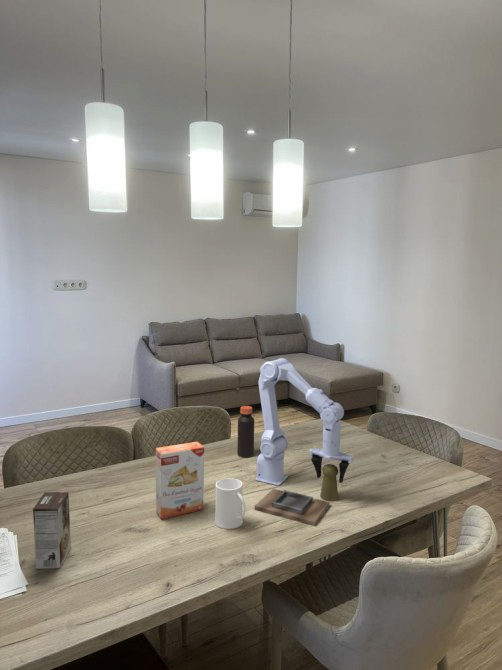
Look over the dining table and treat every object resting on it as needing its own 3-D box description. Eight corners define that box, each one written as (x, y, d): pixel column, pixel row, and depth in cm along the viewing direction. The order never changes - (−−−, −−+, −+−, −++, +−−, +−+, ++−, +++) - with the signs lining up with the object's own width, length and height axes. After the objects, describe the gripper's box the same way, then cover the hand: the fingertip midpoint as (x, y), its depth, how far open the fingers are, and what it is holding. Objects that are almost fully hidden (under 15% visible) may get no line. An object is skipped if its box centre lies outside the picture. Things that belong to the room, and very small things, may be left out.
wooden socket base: (254, 509, 150) (254, 501, 149) (273, 491, 162) (273, 484, 162) (314, 525, 141) (314, 517, 140) (329, 505, 153) (329, 497, 153)
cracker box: (161, 520, 142) (160, 453, 140) (155, 511, 148) (154, 447, 145) (204, 510, 149) (204, 446, 146) (197, 502, 154) (197, 440, 152)
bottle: (253, 458, 192) (254, 410, 189) (237, 457, 192) (237, 409, 189) (253, 451, 198) (254, 405, 196) (237, 451, 199) (238, 405, 196)
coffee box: (47, 548, 127) (44, 491, 125) (71, 547, 128) (69, 490, 126) (34, 569, 118) (31, 508, 116) (61, 568, 119) (58, 507, 117)
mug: (254, 528, 139) (255, 489, 137) (230, 537, 134) (230, 497, 132) (232, 511, 148) (233, 475, 147) (209, 519, 143) (209, 481, 142)
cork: (338, 502, 156) (339, 470, 154) (319, 500, 157) (320, 468, 155) (338, 493, 162) (339, 462, 160) (320, 491, 163) (321, 461, 161)
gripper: (306, 440, 156) (305, 479, 158) (349, 447, 150) (347, 488, 152) (313, 433, 163) (312, 471, 164) (355, 441, 156) (353, 480, 158)
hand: (330, 479), depth 158 cm, fingers open, 7 cm apart
